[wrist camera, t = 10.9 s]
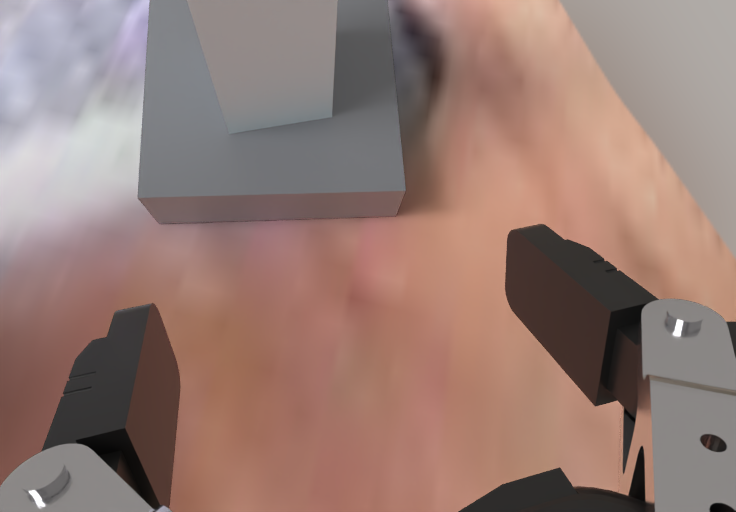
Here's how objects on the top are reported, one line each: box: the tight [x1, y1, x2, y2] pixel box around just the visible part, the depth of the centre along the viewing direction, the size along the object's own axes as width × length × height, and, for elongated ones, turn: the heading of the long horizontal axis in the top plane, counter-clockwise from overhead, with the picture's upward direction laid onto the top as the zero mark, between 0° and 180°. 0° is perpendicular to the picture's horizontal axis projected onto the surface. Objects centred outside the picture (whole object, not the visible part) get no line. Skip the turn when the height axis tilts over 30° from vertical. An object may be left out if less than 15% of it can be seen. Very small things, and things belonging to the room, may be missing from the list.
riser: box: [138, 0, 406, 224], centre depth 25 cm, size 11×11×3 cm
